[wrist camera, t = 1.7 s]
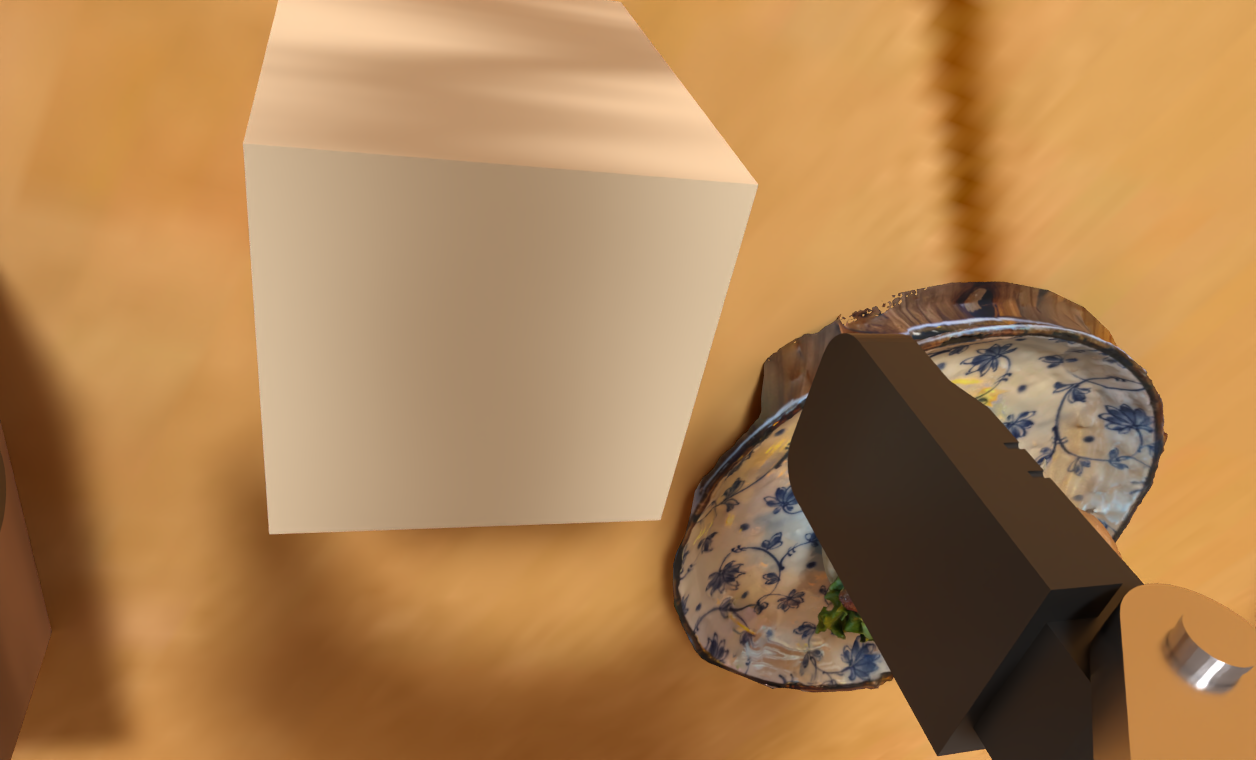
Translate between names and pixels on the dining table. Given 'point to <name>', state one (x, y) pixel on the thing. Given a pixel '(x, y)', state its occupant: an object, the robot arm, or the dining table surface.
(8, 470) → the walnut block
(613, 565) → the dining table surface
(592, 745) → the dining table surface
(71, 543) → the dining table surface
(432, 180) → the oak block
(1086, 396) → the burger
